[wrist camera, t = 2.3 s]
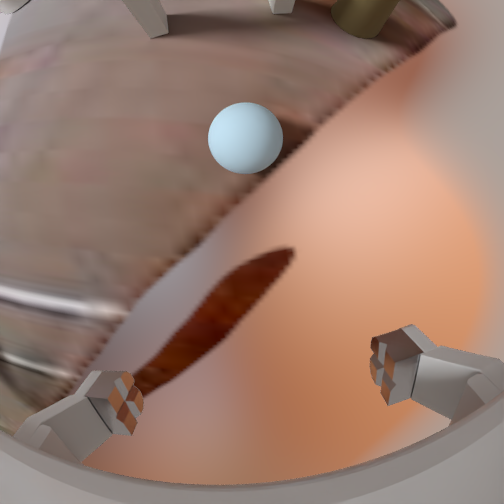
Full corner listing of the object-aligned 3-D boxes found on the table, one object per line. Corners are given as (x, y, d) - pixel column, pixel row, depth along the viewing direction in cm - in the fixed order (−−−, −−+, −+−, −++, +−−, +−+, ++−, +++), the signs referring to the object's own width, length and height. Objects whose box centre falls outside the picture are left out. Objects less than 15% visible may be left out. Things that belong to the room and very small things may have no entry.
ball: (207, 119, 23) (196, 102, 17) (271, 108, 23) (278, 87, 17) (219, 180, 24) (211, 180, 19) (283, 168, 24) (295, 165, 18)
